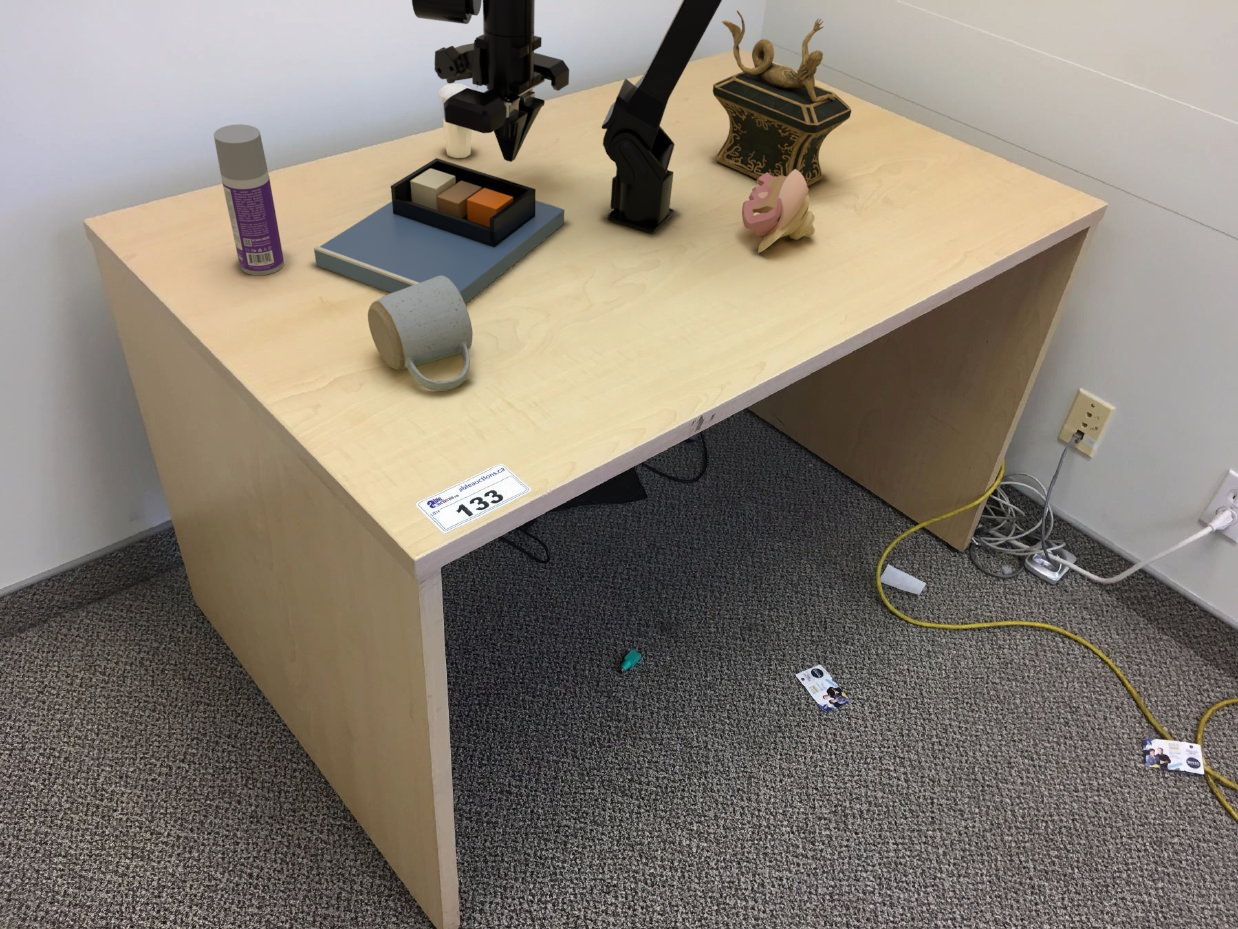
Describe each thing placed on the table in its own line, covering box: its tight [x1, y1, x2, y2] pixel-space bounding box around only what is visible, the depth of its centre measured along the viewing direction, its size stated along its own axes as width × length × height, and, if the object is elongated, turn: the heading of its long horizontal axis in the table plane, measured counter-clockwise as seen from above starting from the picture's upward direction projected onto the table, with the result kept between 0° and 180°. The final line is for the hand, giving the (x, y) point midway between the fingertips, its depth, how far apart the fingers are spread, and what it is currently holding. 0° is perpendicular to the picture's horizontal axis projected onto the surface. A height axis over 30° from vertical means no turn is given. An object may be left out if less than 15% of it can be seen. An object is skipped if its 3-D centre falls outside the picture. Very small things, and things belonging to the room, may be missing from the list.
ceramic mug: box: [367, 276, 474, 392], centre depth 96 cm, size 11×8×8 cm
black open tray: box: [390, 157, 537, 247], centre depth 117 cm, size 14×9×4 cm, turn 63°
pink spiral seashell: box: [741, 169, 816, 254], centre depth 120 cm, size 9×10×10 cm
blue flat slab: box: [313, 200, 565, 305], centre depth 116 cm, size 18×24×2 cm
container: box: [213, 123, 285, 276], centre depth 105 cm, size 5×5×15 cm
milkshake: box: [438, 82, 479, 159], centre depth 131 cm, size 5×5×10 cm
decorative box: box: [712, 10, 852, 187], centre depth 132 cm, size 20×10×20 cm, turn 48°
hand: (509, 159), depth 122 cm, fingers closed
